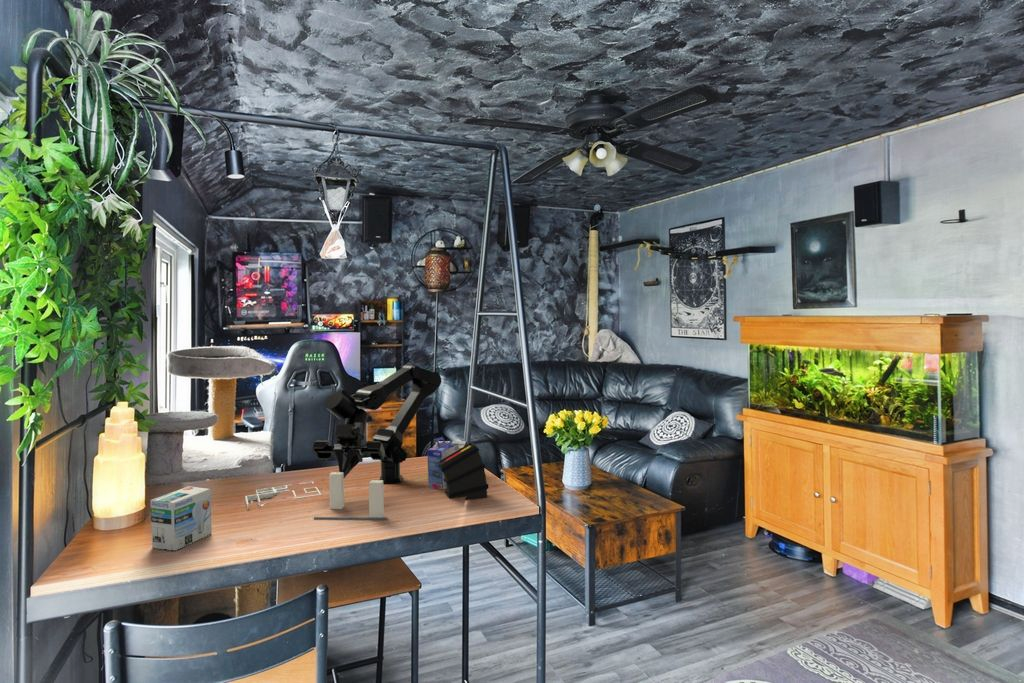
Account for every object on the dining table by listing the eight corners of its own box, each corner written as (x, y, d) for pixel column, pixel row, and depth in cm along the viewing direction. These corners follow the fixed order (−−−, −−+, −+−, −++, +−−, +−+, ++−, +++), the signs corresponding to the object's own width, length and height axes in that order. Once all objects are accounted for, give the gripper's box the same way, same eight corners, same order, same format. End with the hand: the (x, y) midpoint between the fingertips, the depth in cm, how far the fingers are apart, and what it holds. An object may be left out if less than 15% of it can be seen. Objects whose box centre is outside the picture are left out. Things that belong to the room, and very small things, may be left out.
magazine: (498, 490, 159) (476, 444, 156) (457, 516, 155) (433, 469, 152) (494, 486, 163) (472, 441, 160) (453, 511, 159) (430, 465, 156)
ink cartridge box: (444, 481, 173) (444, 434, 173) (460, 483, 171) (460, 435, 170) (426, 490, 165) (426, 440, 164) (443, 493, 162) (442, 442, 161)
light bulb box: (175, 552, 123) (173, 502, 123) (150, 548, 125) (148, 500, 124) (213, 533, 133) (212, 487, 133) (190, 530, 135) (188, 485, 135)
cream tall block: (332, 506, 148) (332, 472, 148) (344, 506, 148) (343, 472, 148) (329, 509, 146) (329, 474, 146) (341, 509, 146) (340, 474, 146)
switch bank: (331, 506, 151) (331, 500, 151) (398, 507, 151) (398, 501, 151) (313, 523, 139) (313, 517, 139) (387, 524, 139) (387, 518, 139)
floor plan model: (250, 524, 141) (250, 516, 140) (243, 495, 162) (243, 488, 162) (329, 511, 150) (329, 503, 149) (312, 485, 171) (312, 478, 171)
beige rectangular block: (371, 516, 141) (371, 480, 141) (383, 516, 141) (383, 480, 141) (369, 519, 139) (368, 482, 139) (381, 519, 139) (381, 482, 139)
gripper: (313, 411, 156) (297, 462, 145) (381, 411, 155) (370, 462, 144) (324, 433, 164) (310, 483, 153) (389, 434, 163) (379, 484, 153)
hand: (341, 478), depth 151 cm, fingers closed
